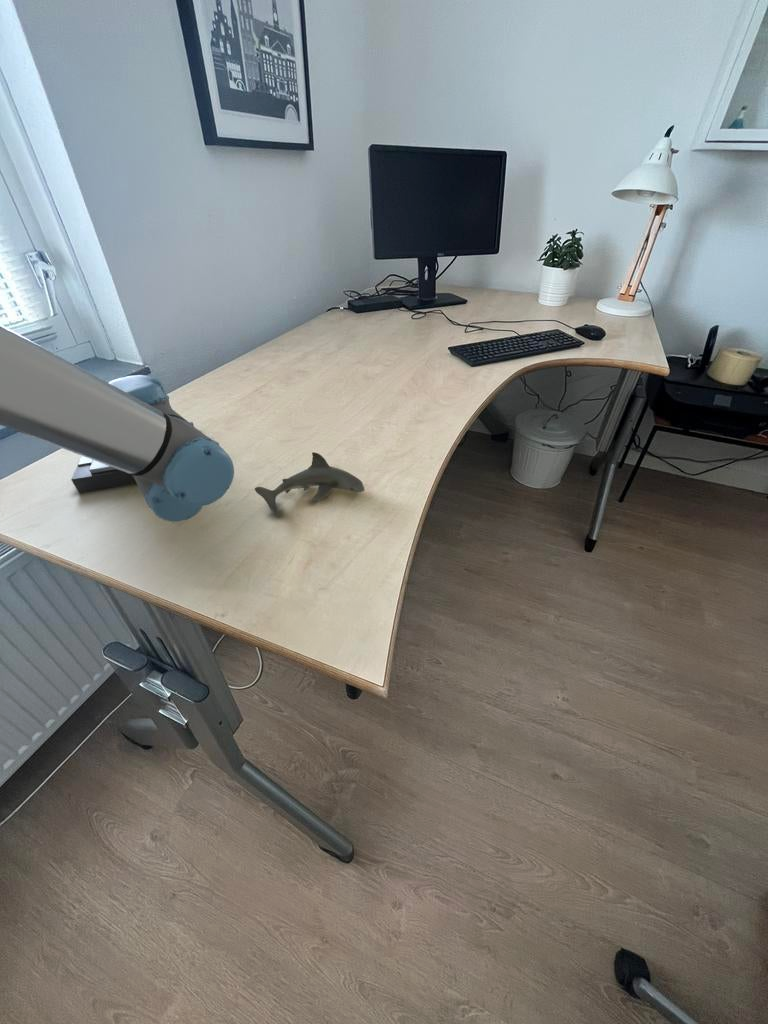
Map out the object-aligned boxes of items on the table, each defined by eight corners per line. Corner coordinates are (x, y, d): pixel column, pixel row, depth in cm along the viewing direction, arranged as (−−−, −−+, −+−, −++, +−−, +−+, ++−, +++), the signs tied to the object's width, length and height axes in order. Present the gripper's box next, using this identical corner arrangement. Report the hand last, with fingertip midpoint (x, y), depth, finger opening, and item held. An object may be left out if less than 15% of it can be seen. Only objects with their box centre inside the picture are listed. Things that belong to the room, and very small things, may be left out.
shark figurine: (358, 523, 71) (355, 486, 66) (261, 515, 73) (251, 479, 68) (372, 474, 82) (370, 439, 77) (287, 468, 84) (280, 434, 79)
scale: (78, 493, 79) (68, 475, 77) (96, 449, 91) (88, 433, 88) (193, 473, 83) (187, 456, 81) (196, 434, 95) (191, 418, 93)
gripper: (107, 494, 68) (80, 436, 83) (205, 459, 76) (165, 412, 90) (85, 454, 64) (61, 400, 78) (192, 421, 71) (152, 377, 85)
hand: (117, 406), depth 84 cm, fingers open, 3 cm apart
